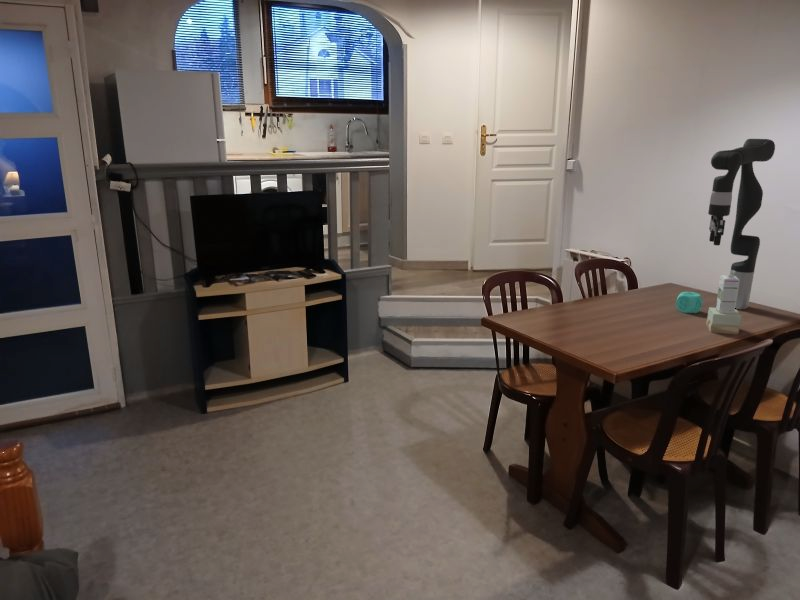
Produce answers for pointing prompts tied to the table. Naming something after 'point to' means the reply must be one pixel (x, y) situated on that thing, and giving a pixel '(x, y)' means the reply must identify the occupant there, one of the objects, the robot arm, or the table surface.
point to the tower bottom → (722, 328)
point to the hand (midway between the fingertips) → (714, 243)
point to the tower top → (724, 317)
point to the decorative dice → (689, 302)
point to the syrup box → (727, 294)
